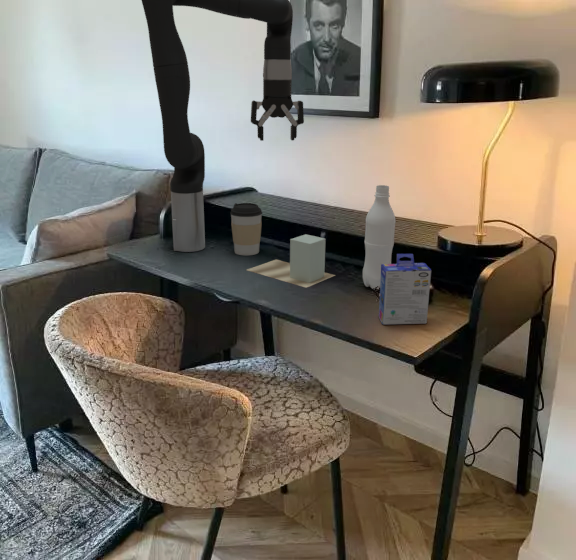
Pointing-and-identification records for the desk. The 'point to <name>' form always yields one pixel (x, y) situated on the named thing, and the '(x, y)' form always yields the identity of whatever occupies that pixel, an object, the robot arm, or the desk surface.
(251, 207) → the coffee cup
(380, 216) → the water bottle
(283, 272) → the oak board
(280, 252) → the desk surface
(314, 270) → the pale upright block
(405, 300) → the ink cartridge box
